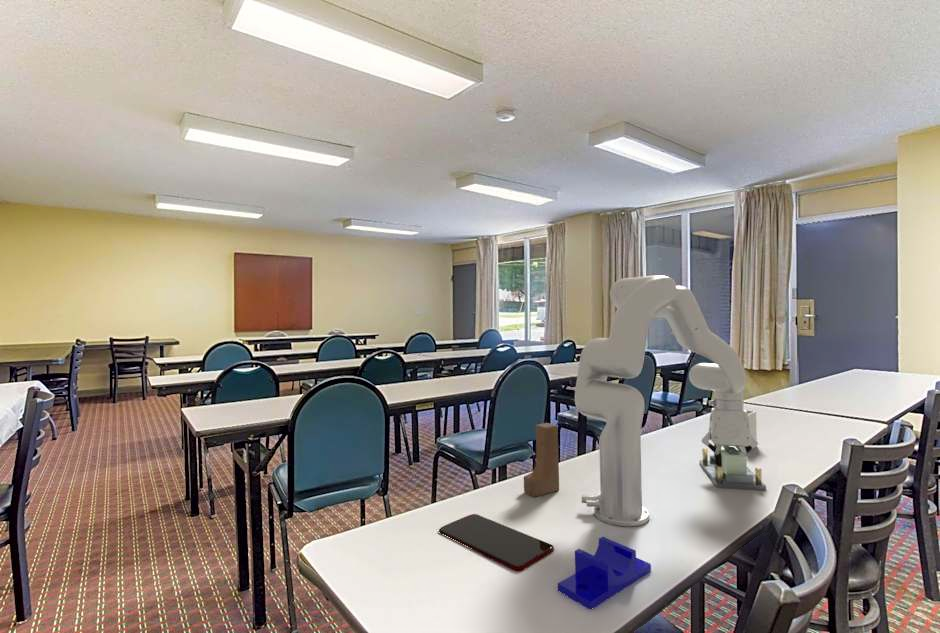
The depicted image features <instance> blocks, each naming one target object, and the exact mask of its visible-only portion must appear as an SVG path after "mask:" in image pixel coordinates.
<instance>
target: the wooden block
mask: <svg viewBox="0 0 940 633" xmlns="http://www.w3.org/2000/svg"><path fill="white" fill-rule="evenodd" d="M558 427H559V426H558V425H556V424H553V423H549V422H543V423H540V424H535V449H536V454H535V456H536V462H535V467H534V468H533V470H532V472H531V473H528V474H526V475H524V476H523V492H524V493H525V494H527V495H529V496H531V497H532V498H536V497H539V496H543V495H547V494H551V493H554V492H559V491H560V467H559V463H560V462H559V432H558V431H559V428H558Z"/></svg>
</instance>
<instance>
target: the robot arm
mask: <svg viewBox="0 0 940 633" xmlns="http://www.w3.org/2000/svg"><path fill="white" fill-rule="evenodd" d="M609 297H610V300H611V302H612V304H613V306H614V307H615V308H616V311H615V312H614V315H613V319H612V323H611V329H610V334H609V336H608V337H596V338H593V339H591V340H589V341H588V342H587V343H586V344H585V345H584V347H583V348H582V349H581V350H582V351H581V353H580V357H579V363H578V369H577V377H576V383H575V389H574V403H575V407H576V410H577V411H578V412H579V413H580V414H581V415H582V416H585V417H588V418H591V419H596V420H599V421H603V422H605V423H606V424H605V426H604V428H603V430H602V431H601V434H600V436H599V440H598V449H599V451H598V452H599V455H598V456H599V487H600V490H598V494H596V493H595V494H594V495H590V494H589V495H588V494H581V503H582V504H586V507H594V510H593V511H594V516H595V517H596V518H597V519H599V520H600V521H602V522H603V523H606V524H609V525H613V526H619V527H636V526H641V525H644V524H646V523H647V522H648V521H649V520H650V512H649V510H648V509H647V508H646V507H645V506H643V492H642V491H643V490H642V484H643V483H642V482H643V481H642V480H643V479H642V453H641V452H642V445H641V444H642V443H641V441H642V439H641V438H642V435H641V434H642V424H643V417H644V414H645V399H644V396H643V395H642V393H641V392H640V391H639V389H637V388H635V387H633V386H631V385H629V384H624V383H619V382H612V381H607V380H608V377H611V378H618V379H619V378H620V379H634V378H637V377H638V376H639V375H640V374H642V373H641V372H642V369H643V368H644V367H643V366H644V360H645V355H646V348H647V340H648V334H649V330H650V328H649V327H650V324H651V322H652V320H653V319H654V318H656V319H657V318H658V319H659V318H661V319H663V318H664V319H666V320H667V323H668V326H670V329H671V330H672V332H673V335H674V337H675V339H676V342H677V343H678V345H680V346H681V347H683V348H684V349H686V350H688V351H691V352H692V353H695V354H698V355H700V356H703V357H704V358H706V359H709V360H710V361H711V362H713V363H709V362H700V363H696V364H694V365H693V366H692V367H691V368H690V370H689V374H688V380H689V382H690V383H691V385H693V386H694V387H695V388H697V389H701V390H704V391H705V390H706V391H712V392H713V397H712V398H713V399H711V400H708V405H709V406H713V407H712V408H711V411H710V417H709V426H708V432H707V433H706V434H705V435H704V436H703V438H701V440H700V441H701V443H702V444H703V445H705V446H707V447H708V448H709V449H710V450H711V451H712V452H713V455H714V462H715V465H717V467H718V466H721V467H722V457H721V454H720V450H721V447H722V446H735V447H738V450H739V451H740V452H741V453H742V454H744V455H745V456H746V457H747V454H748V453H749V452H750V451H752V450H753V449H755V448H756V447H757V446H758V445H759V443H758V441H756V440H755V439H754V438H753V437H752V436H751V432H750V424H749V418H748V413H747V411H746V410H747V409H745V408H744V407H745V406H744V405H745V404H744V389H745V387H746V385H747V374H746V370H745V367H744V365H743V362H742V360H741V358H740V356H739V354H738V352H737V351H736V350H735V349H734V348H733V347H732V346H731V345H730V344H728V342H726V341H725V340H723V339H722V338H721V337H720V336H718V335H717V334H715V333H714V332H712V331H711V330H710V328H709V327H708V324H707V321H706V319H705V317H704V315H703V312H702V311H701V308H700V306H699V303H698V301H697V299H696V297H695V295H694V293H693V291H692V290H691V289H690V288H688V287H686V286H683V285H677V283H676V281H675V280H674V279H673V278H671V277H670V276H666V275H661V274H660V275H646V276H645V275H644V276H637V277H625V278H621V279H618V280H617V281H614V283H613V285H612V286H611V288H610V291H609ZM709 441H711V443H710V442H709ZM712 443H713V444H712ZM755 446H756V447H755ZM754 447H755V448H754ZM752 448H753V449H752ZM751 449H752V450H751Z"/></svg>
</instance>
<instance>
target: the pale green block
mask: <svg viewBox="0 0 940 633" xmlns="http://www.w3.org/2000/svg"><path fill="white" fill-rule="evenodd" d="M736 447H737V446H722V447H721V450H720V454H721V457H722V467H723V472H724V473H725V474H737V475H747V467H748V466H747V455H746V456H745V455H744V454H742V453H741V452H740V451H739V449H737V448H736Z"/></svg>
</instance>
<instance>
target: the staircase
mask: <svg viewBox="0 0 940 633" xmlns="http://www.w3.org/2000/svg"><path fill="white" fill-rule="evenodd" d="M745 410H746V411H747V413H748V418H749V424H750V432H751V436H752V437H753V438H754V439H755V440H756V441H757V439H758V436H757V435H758V434H757V411H756V410H748V409H745ZM757 442H758V441H757ZM735 447H736V448H737V449H738V446H735ZM756 447H757V446H755V447H754V448H752V449H751V450H750V451H752V450H753V449H755V448H756ZM738 450H739V449H738Z"/></svg>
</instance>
